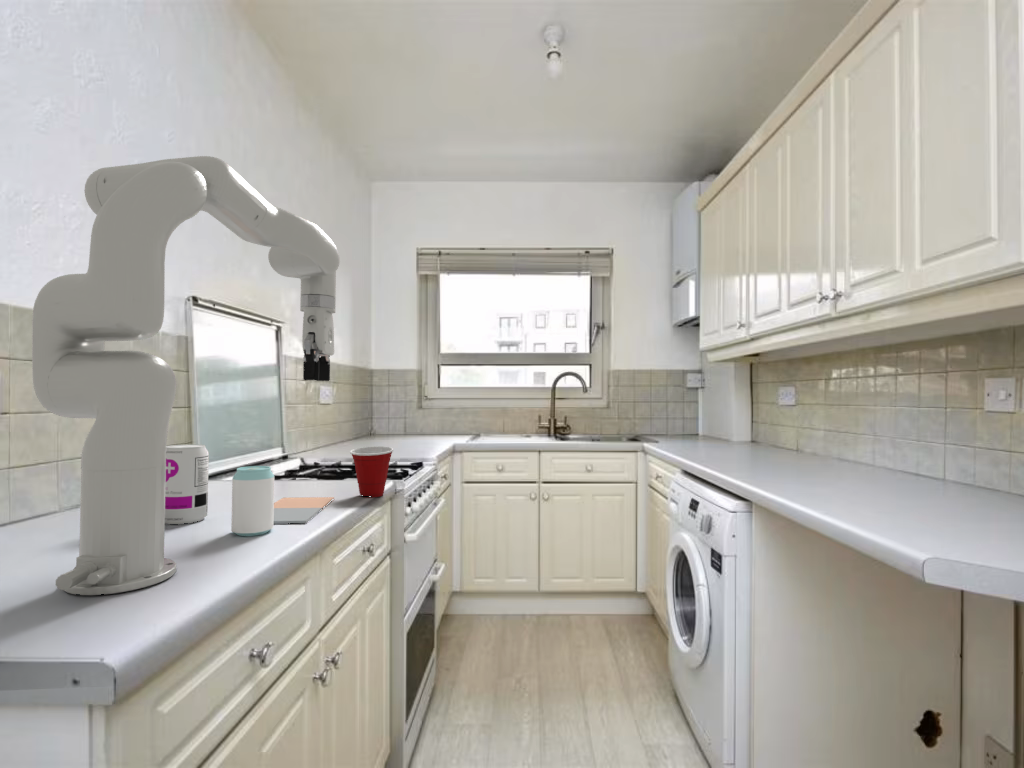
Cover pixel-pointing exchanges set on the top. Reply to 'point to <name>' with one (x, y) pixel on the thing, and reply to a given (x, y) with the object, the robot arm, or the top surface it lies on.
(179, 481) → the supplement can
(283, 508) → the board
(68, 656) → the top surface
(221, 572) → the top surface
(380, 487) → the plastic cup
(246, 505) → the can
